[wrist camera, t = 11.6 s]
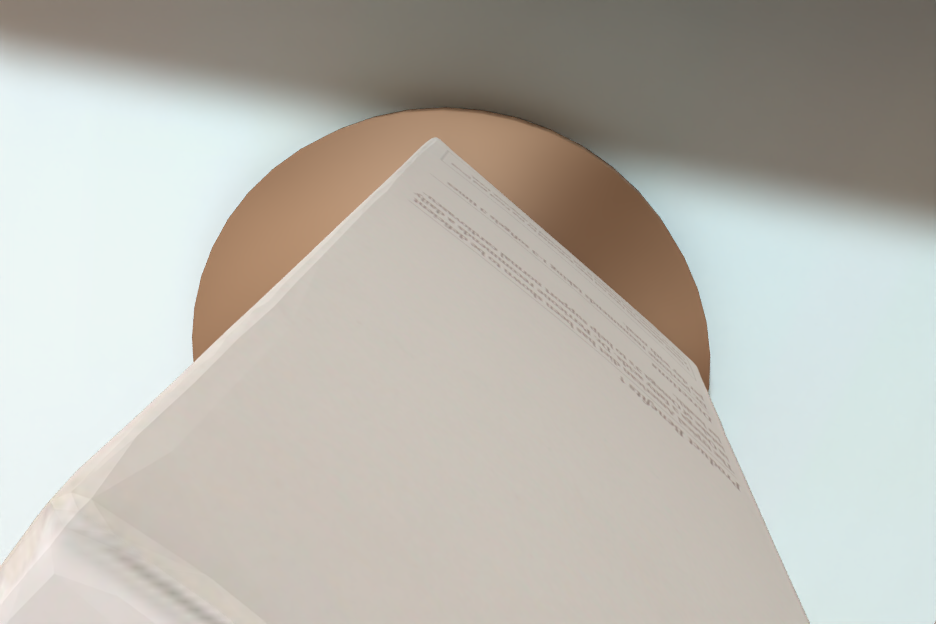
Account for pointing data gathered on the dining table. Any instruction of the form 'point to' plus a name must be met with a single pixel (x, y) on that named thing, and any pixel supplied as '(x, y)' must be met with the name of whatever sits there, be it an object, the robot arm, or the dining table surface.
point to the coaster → (497, 160)
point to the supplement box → (416, 450)
